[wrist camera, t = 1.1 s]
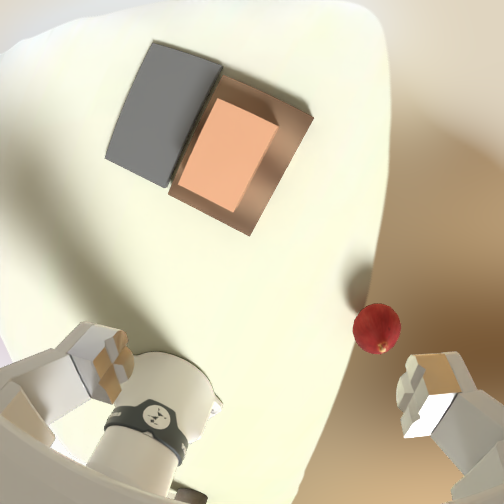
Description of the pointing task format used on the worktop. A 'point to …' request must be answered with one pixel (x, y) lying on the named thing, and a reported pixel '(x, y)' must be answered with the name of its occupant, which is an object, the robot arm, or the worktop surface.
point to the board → (272, 164)
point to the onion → (376, 328)
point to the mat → (161, 112)
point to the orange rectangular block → (227, 154)
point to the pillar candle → (190, 496)
